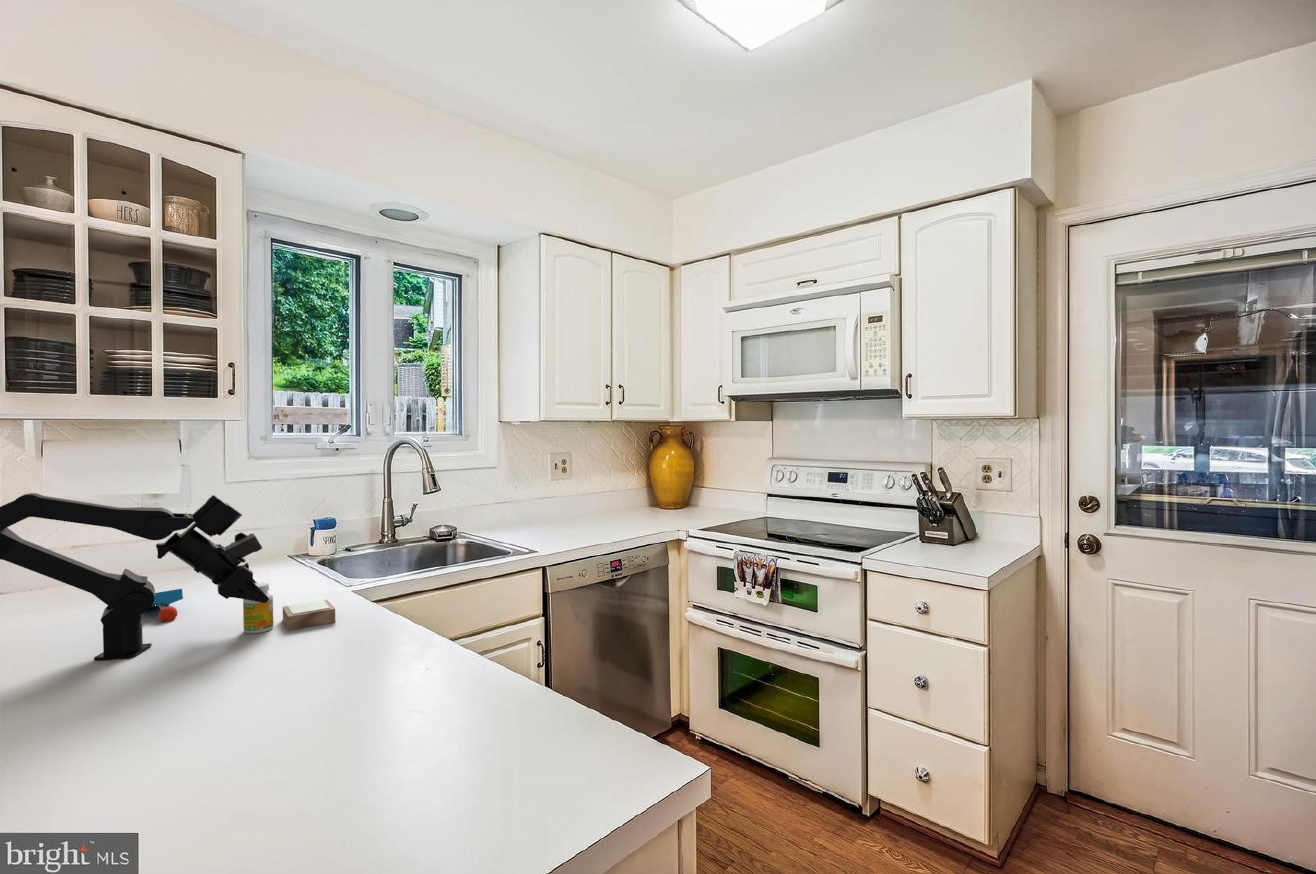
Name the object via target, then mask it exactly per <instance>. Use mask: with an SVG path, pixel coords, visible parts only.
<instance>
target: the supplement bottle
mask: <svg viewBox="0 0 1316 874" xmlns="http://www.w3.org/2000/svg"><path fill="white" fill-rule="evenodd" d="M255 584H256V585H257V586H258V587H259V588H260V589H261V590H262V591H263V593H264V594H265V595H266V596H267V597H268V598H269V600H268V601H267V602H266V603H262V602H257V601H251V600H246V599H242V611H243V612H242V614H243V616H242V617H243V620H242V621H243V622H242V623H243V633H246V634H251V635H252V634H253V635H254V634H259V633H265V632H268V631H270V630H272V629H273V628H274V596H273V594H272V593H271V592H269V590H270V584H269V582H257V583H255Z"/></svg>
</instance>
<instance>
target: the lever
mask: <svg viewBox="0 0 1316 874" xmlns="http://www.w3.org/2000/svg"><path fill="white" fill-rule="evenodd" d="M183 594H184V593H183V588H175V589H171V590H165V591H159V592H155V597H154V603H153V605H152V606H151V608H157V607H159V609H160V611H159V612H158V619H159V620H160V621H161V622H165V623H166V621H168V622H171V621H172V622H173V621H174V620H175V619H176V618H177V616H178V610H177V608H176V607H174V606H168V605H170V604H174V603H176V602H179V601H181V600H184V595H183ZM167 604H168V605H167ZM155 605H156V606H157V607H156V606H155Z"/></svg>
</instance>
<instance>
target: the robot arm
mask: <svg viewBox="0 0 1316 874" xmlns="http://www.w3.org/2000/svg"><path fill="white" fill-rule="evenodd" d="M242 516H243V514H242V513H241V512H239V511H238V510H237V509H236V508H234V507H233V506H232V505H231V504H229V503H227V502H224V501H223V500H222V499H220V498H218V497H217V496H216V495H214V494H212V495H211V496H210V497H209V498H208V499H207V500H206V501H205V502H204V504H203V505H201V506H200V507H199V508H198V509H197V510H196V511H195V512H193V513H187V512H185V513H179V512H178V513H177V512H172V511H171V510H169V509H168V508H165V507H147V506H145V507H143V506H139V507H118V506H112V505H111V506H110V505H106V504H99V503H93V502H91V503H90V502H85V501H80V500H79V501H78V500H73V499H66V498H61V497H60V498H59V497H54V496H47V495H44V494H43V495H42V494H39V493H36V492H30V493H29V492H28V493H24V494H23V495H20V496H19V497H17V498H15V500H13V501H10V502H8V503H6V504H4V505H0V560H1V561H5V562H8V563H11V564H13V565H16V566H18V567H21V568H23V569H26V570H29V571H32V572H35V573H37V574H40V575H41V576H45V577H48V578H50V579H52V580H55V581H57V582H60V583H63V584H66V585H69V586H71V587H73V588H76V589H78V590H81V591H84V592H87V593H88V594H89V593H90V594H91V595H93V596H94V597H96V598H97V599H98V600H99V601H101V602H103V603H104V604H105V605H106V607H105V608H104V609H103V612H102V615H101V618H100V622H101V624H102V645H103V647H102V650H103V651H102V652H101V653H99V654H98V655H95V656H94V657H93V660H94V661H98V660H99V661H100V660H111V659H112V660H113V659H124V658H125V659H126V658H127V659H128V658H129V659H130V658H134V657H136V656H138V655H139V654H141V653H143V652H144V651H146V650H147V649H149V648H150V647H152V643H144V641H143V638H144V637H143V616H142V614H144V613H146V612H147V611H148V610H150V609H151V608H152V607H151V606H152V605H153V603H154V597H155V593H156V589H155V586H154V585H153V583H152V582H150V581H149V580H148V576H146V575H144V576H143V575H139V574H137V573H135V572H133V571H132V570H130V569H128V568H125V569H123V572H122V573H121V574H118V573H111V572H110V573H109V572H106V571H104V570H101V569H99V568H96V567H94V566H91V565H89V564H86V563H83V562H81V561H78V560H76V559H73V558H71V557H68V556H67V555H63V554H61V553H58V552H57V551H54V550H51V549H48V548H46V547H44V546H41V545H38V544H35V543H33V542H31V541H29V540H26V539H23V538H22V537H20V536H19V535H18V534H17V533H16V532H14V531H13V530H11V528H9V527H11V526H13V525H15V524H17V523H19V522H22V521H24V520H26V519H28V518H37V519H44V520H53V521H59V522H67V523H74V524H75V523H76V524H81V525H89V526H96V527H103V528H110V529H114V530H119V531H121V532H123V533H127V534H129V535H133V536H136V537H139V538H143V539H145V540H150V541H161V540H164V539H166V538H168V537H169V538H168V539H167V540H166V541H164V542H161V543H160V542H158V543H156V544H155V548H156V550H157V556H156V558H157V559H159V560H161V559H162V558H163V557H165V556H166V555H167V554H168V553H171V554H172V555H173V556H175V557H177V559H179V560H181V561H182V562H184V563H185V564H186V565H188V566H190V567H191V568H193V571H194V572H196V573H198V574H199V573H200V574H201V575H203V576H205V577H206V578H208V580H211V583H213V584H214V585H216V586H217V593H218V595H220V596H221V597H223V598H224V599H226V600H228V599H229V598H233V599H234V598H235V599H241V600H243V599H246V600H251V601H257V602H262V603H266V602H267V601H268V600H269V598H268V597H267V596H266V595H265V594H264V593H263V591H262V590H261V589H260V588H259V587H258V586H257V585H256V584H255V583H258V582H257V581H256V580H255V579H254V576H253V575H254V573H253V571H252V570H250V564H249V563H248V562H246V559H245V557H247V556H249V555H251V554H253V553H257V552H259V551H261V550H262V549H263V546H262V545H261V543H260V542H259V539H258V538H257V536H256V535H255V533H248V534H246V533H244V532H242V531H241V532H239V533H236V534H235V535H234V541H233V542H231V543H230V544H228V545H226V546H224V545H222V544H221V543H215V542H213V541H212V540H210V539H208V538H207V537H206V536H204V535H203V534H201V532H202V533H204V534H206V535H207V536H209V537H210V538H211V537H215V536H216V535H217V536H222V535H223V534H224V533H225V532H226V531H228V529H230V527H232V526H233V525H234V524H235V523H236V522H237V521H239V519H240V518H242ZM196 528H197V529H199V530H200V531H201V532H199V531H197V530H196ZM181 530H184V531H183V532H182V533H179V532H178V531H181ZM174 532H175V533H174ZM173 533H174V534H173ZM171 534H172V535H171ZM245 562H246V563H245ZM241 563H245V564H243V565H241Z"/></svg>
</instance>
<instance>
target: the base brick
mask: <svg viewBox="0 0 1316 874" xmlns="http://www.w3.org/2000/svg"><path fill="white" fill-rule="evenodd" d="M282 622H283V623H284V625H285V627H286V629H287V631H294V630H299V629H305V628H309V627H310V628H311V627H318V626H321V625H327V624H332V623H333V624H334V623H336V608H335V607H334V605H332V603H331V602H330V601H329V600H328V599H324V600H317V601H312V602H304V603H299V604H298V603H297V604H291V605H286V606H282Z"/></svg>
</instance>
